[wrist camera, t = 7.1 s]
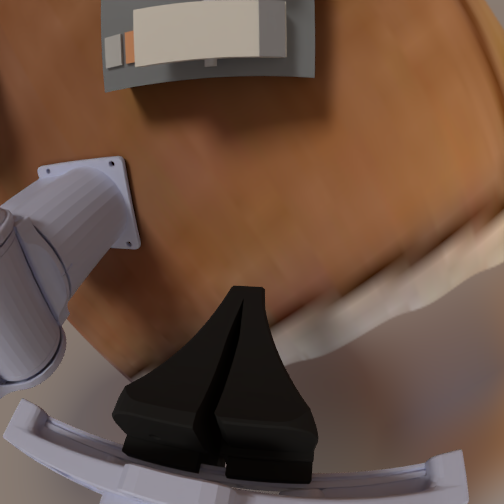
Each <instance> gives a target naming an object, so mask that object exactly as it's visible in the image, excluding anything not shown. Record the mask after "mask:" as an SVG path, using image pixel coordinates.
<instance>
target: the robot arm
mask: <svg viewBox="0 0 504 504" xmlns="http://www.w3.org/2000/svg"><path fill="white" fill-rule="evenodd" d="M111 161H113V162H114V166H113V165H112V163H111ZM49 170H50V171H49ZM38 176H39V179H38V180H37V181H35V182H34V183H32V184H31V185H29V186H28V187H26V188H25V189H23V190H22V191H20V192H19V193H18V194H16V195H15V196H13V197H12V198H11V199H9V200H8V201H6V202H5V203H4V204H2V205H1V206H0V399H1V398H2V397H4V396H5V395H7V394H9V393H11V392H13V391H17V390H23V389H29V388H32V387H35V386H36V385H39V384H41V383H42V382H43V381H45V380H46V379H47V378H48V377H50V376H51V375H52V374H53V372H54V371H55V370H56V369H57V367H58V366H59V364H60V363H61V361H62V359H63V356H64V353H65V350H66V336H65V332H64V330H63V328H62V324H63V323H64V321H65V320H66V319H67V317H68V316H69V314H70V313H69V311H68V308H67V303H68V301H69V300H70V299H71V297H72V296H73V295H74V293H75V292H76V291H77V289H78V288H79V287H80V285H81V284H82V283H83V281H84V280H85V279H86V277H87V276H88V275H89V274H90V272H91V271H92V270H93V269H94V267H95V266H96V265H97V263H98V262H99V261H100V260H101V259H102V257H103V256H104V255H105V254H106V252H107V251H108V250H109V249H110V248H121V249H138V248H139V247H140V245H141V241H140V237H139V232H138V228H137V223H136V219H135V214H134V209H133V204H132V199H131V194H130V188H129V183H128V177H127V171H126V165H125V161H124V159H123V157H121V156H113V157H103V158H94V159H86V160H78V161H70V162H63V163H57V164H50V165H44V166H41V167H39V168H38ZM129 242H130V243H131V244H129ZM112 417H113V419H114V421H115V422H116V423H117V424H118V426H119V427H120V428H121V429H122V430H123V431H124V432H125V433H126V434H127V437H126V439H125V442H124V445H123V444H119V443H116V442H113V441H110V440H107V439H104V438H101V437H99V436H96V435H93V434H91V433H88V432H85V431H83V430H80V429H77V428H75V427H73V426H70V425H68V424H66V423H63V422H61V421H59V420H57V419H55V418H52V417H50V416H48V414H47V413H46V412H45V411H44V410H43V409H42V408H40V407H39V406H37V405H35V404H33V403H31V402H29V401H28V400H26V399H24V398H22V399H21V401H20V403H19V405H18V407H17V409H16V410H15V412H14V414H13V416H12V418H11V420H10V422H9V424H8V426H7V428H6V431H5V432H4V435H3V438H4V439H6V440H7V441H8V442H9V443H11V444H12V445H13V446H15V447H16V448H18V449H19V450H20V451H22V452H23V453H25V454H26V455H27V456H29V457H30V458H32V459H33V460H35V461H37V462H38V463H40V464H42V465H44V466H45V467H47V468H49V469H51V470H53V471H54V472H56V473H58V474H60V475H62V476H64V477H66V478H68V479H70V480H71V481H74V482H75V483H78V484H80V485H82V486H84V487H86V488H88V489H90V490H92V491H95V492H97V493H99V494H102V497H101V500H100V504H467V503H468V502H469V495H468V487H467V479H466V471H465V465H464V459H463V453H462V450H461V449H459V450H455V451H451V452H447V453H443V454H439V455H436V456H433V457H432V458H430V459H428V460H427V461H426V463H421V464H415V465H410V466H403V467H397V468H389V469H381V470H372V471H362V472H348V473H323V474H322V473H318V474H312V462H313V459H314V449H315V447H316V445H317V443H318V432H317V428H316V424H315V422H314V418H313V416H312V413H311V410H310V408H309V407H308V405H307V404H306V402H305V401H304V399H303V398H302V397H301V395H300V394H299V392H298V390H297V389H296V387H295V385H294V384H293V382H292V380H291V378H290V377H289V374H288V373H287V371H286V369H285V367H284V365H283V363H282V360H281V358H280V356H279V354H278V351H277V349H276V346H275V343H274V341H273V338H272V334H271V331H270V328H269V324H268V320H267V316H266V311H265V289H264V288H263V287H249V286H233V287H231V289H230V291H229V292H228V294H227V295H226V297H225V298H224V300H223V301H222V303H221V304H220V306H219V307H218V308H217V310H216V311H215V312H214V314H213V315H212V316H211V317H210V319H209V320H208V321H207V322H206V323H205V325H204V326H203V327H202V328H201V329H200V330H199V331H198V333H197V334H196V335H195V336H194V337H193V338H192V339H191V340H190V341H189V342H188V343H187V344H186V345H185V346H184V347H182V348H181V349H180V350H179V351H178V352H177V353H175V354H174V355H173V356H172V357H171V358H169V359H168V360H167V361H166V362H164V363H163V364H161V365H160V366H158V367H157V368H156V369H154V370H153V371H151V372H150V373H148V374H147V375H145V376H143V377H141V378H140V379H138V380H136V381H134V382H132V383H131V384H129V385H127V386H125V388H124V390H123V391H122V393H121V394H120V396H119V398H118V401H117V403H116V406H115V408H114V411H113V413H112ZM225 462H226V464H227V466H226V468H225ZM231 487H234V488H231ZM235 488H243V489H253V490H264V491H280V493H279V495H277V494H268V493H261V492H254V491H247V490H241V489H235Z"/></svg>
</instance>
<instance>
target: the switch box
mask: <svg viewBox="0 0 504 504" xmlns="http://www.w3.org/2000/svg"><path fill="white" fill-rule="evenodd" d="M196 1H203V0H101V39H102V60H103V75H104V87H105V92H110V91H114V90H119V89H125V88H130V87H136V86H142V85H148V84H155V83H162V82H170V81H179V80H188V79H199V78H213V77H233V76H290V77H310V78H315V3H314V0H280V1H285V2H286V28H287V57H285V58H223V59H217V66H212V67H205V65H204V60H194V61H184V62H175V63H167V64H159V65H152V66H146V67H135V56H134V31H133V10H136V9H141V8H147V7H153V6H160V5H167V4H175V3H184V2H196Z"/></svg>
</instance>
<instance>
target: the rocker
mask: <svg viewBox="0 0 504 504" xmlns="http://www.w3.org/2000/svg"><path fill="white" fill-rule="evenodd" d="M133 31H134V56H135V67H146V66H152V65H159V64H167V63H175V62H184V61H194V60H204V65H205V67H212V66H217V59H223V58H285V57H287V28H286V2H285V1H280V0H203V1H196V2H184V3H175V4H167V5H160V6H153V7H147V8H141V9H136V10H133Z"/></svg>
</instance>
